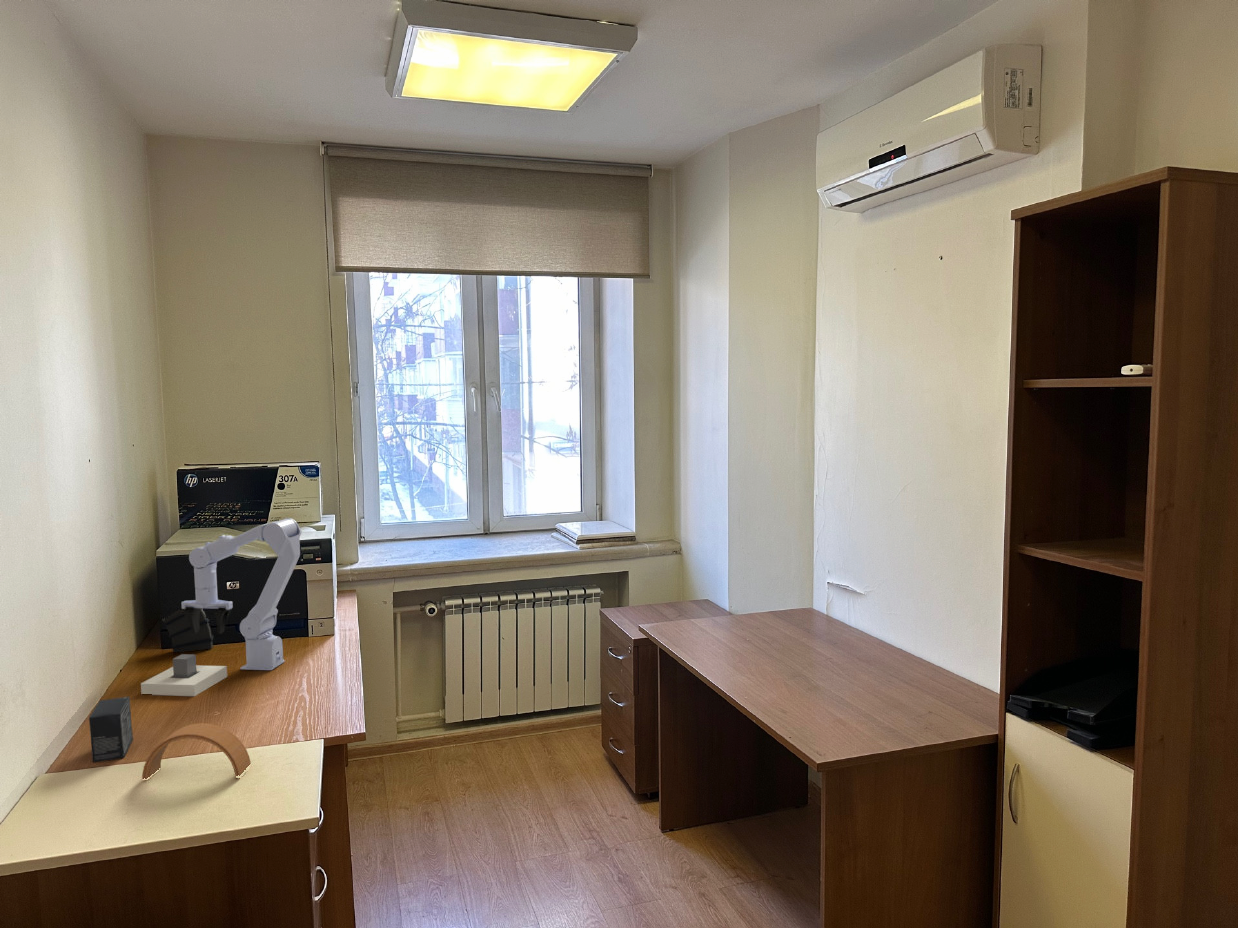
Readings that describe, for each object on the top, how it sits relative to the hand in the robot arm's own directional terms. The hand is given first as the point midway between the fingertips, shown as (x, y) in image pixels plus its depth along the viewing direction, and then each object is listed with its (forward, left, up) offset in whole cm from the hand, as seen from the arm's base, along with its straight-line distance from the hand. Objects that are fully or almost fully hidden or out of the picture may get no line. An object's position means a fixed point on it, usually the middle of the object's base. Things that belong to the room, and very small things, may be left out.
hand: (208, 632), depth 245 cm
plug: (-4, +17, -10) cm, 20 cm away
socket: (-4, +17, -9) cm, 20 cm away
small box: (-13, +58, -10) cm, 60 cm away
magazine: (+14, -12, -10) cm, 21 cm away
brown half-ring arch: (-39, +67, -10) cm, 78 cm away
